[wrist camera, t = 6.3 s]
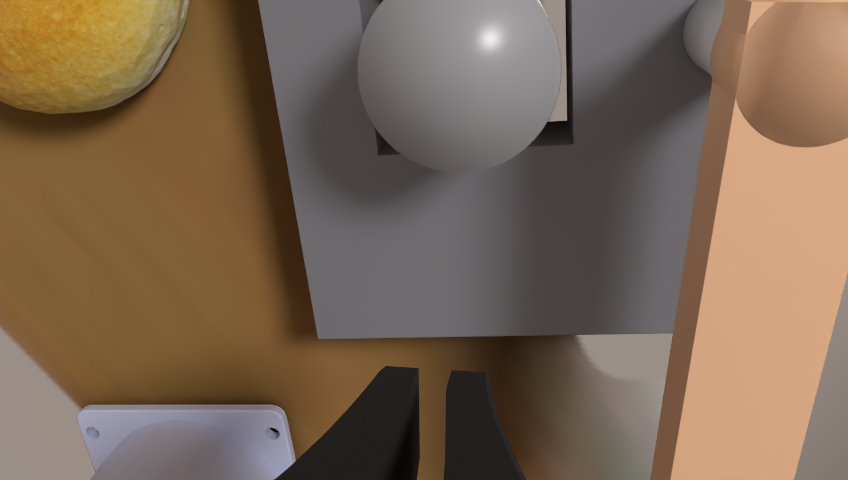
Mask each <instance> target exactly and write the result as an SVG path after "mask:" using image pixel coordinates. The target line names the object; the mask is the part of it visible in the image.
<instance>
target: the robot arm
mask: <svg viewBox="0 0 848 480" xmlns="http://www.w3.org/2000/svg"><path fill="white" fill-rule="evenodd" d="M77 421H78V424H79V427H80V430H81V432H82V435H83V438H84V441H85V444H86V447H87V449H88V453H89V455H90V458H91V461H92V464H93V467H94V469H95V472H96V473H95V475H94V476H93V477H92V478H91V480H417V473H418V466H419V459H420V445H419V368H407V367H391V366H385V367H384V368H383V369H382V370H381V371H380V372H379V373H378V374H377V375H376V377H375V378H374V379H373V380H372V382H371V383H370V384H369V385H368V386H367V388H366V389H365V390H364V391H363V392H362V394H361V395H360V396H359V397H358V398H357V399H356V401H355V402H354V403H353V404H352V405H351V406H350V407H349V408H348V410H347V411H346V412H345V413H344V414H343V415H342V416H341V417H340V418H339V419H338V420H337V421H336V422H335V423H334V425H333V426H332V427H331V428H330V429H329V430H328V431H327V432H326V433H325V434H324V435H323V436H322V437H321V438H320V439H319V440H318V441H317V442H316V443H315V444H313V445H312V446H311V447H310V448H309V449H308V450H307V451H306V452H305V453H304V454H303V455H302V456H301V457H300V458H299V459H298V460H297V461H296V459H295V454H294V449H293V445H292V440H291V435H290V430H289V425H288V421H287V416H286V414H285V412H284V411H283V410H282V409H281V408H280V407H278V406H276V405H87V406H85V407H84V408H83V409H82V410H81V411H80V412H79V413H78V415H77ZM94 428H96V429H97V430H98V431H96V430H95V429H94ZM270 428H275V429H276V430H278V431H279V432H278V433H277V432H273V431H272V430H271V429H270ZM444 480H526V478H525V477H524V475H523V473H522V471H521V469H520V467H519V465H518V462H517V460H516V458H515V456H514V454H513V452H512V449H511V447H510V444H509V442H508V439H507V437H506V435H505V432H504V430H503V427H502V424H501V421H500V419H499V415H498V412H497V409H496V406H495V402H494V398H493V393H492V386H491V378H490V377H489V376H488V375H487V374H486V373H483V372H468V371H453V370H452V371H451V375H450V378H449V382H448V386H447V391H446V448H445V472H444Z"/></svg>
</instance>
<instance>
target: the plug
mask: <svg viewBox="0 0 848 480" xmlns="http://www.w3.org/2000/svg"><path fill="white" fill-rule="evenodd" d="M357 72H358V84H359V89H360V94H361V98H362V101H363V104H364V107H365V110H366V112H367V114H368V116H369V118H370V120H371V122H372V123H373V125H374V126H375V128H376V129H377V131H378V132H379V133H380V135H381V136H382V137H383V138H384V139H385V140H386V142H387V143H388V144H390V145H391V146H392V147H393V148H394V149H395V150H396V151H398V152H399V153H400V154H402V155H403V156H405V157H406V158H408V159H410V160H412V161H413V162H415V163H417V164H420V165H422V166H425V167H427V168H430V169H435V170H439V171H444V172H452V173H467V172H475V171H481V170H484V169H488V168H492V167H494V166H497V165H499V164H502V163H504V162H506V161H507V160H509V159H511V158H513V157H514V156H516V155H517V154H519V153H520V152H521V151H523V150H524V149H525V148H526V147H527V146H528V145H529V144H530V143H531V142H532V141H533V140H534V139H535V138H536V137H537V136H538V134H539V133H540V132H541V131H542V129H543V128H544V126H545V125H546V123H547V121H548V120H549V118H550V116H551V114H552V111H553V109H554V107H555V104H556V101H557V97H558V94H559V89H560V82H561V56H560V49H559V45H558V41H557V37H556V35H555V32H554V29H553V27H552V24H551V22H550V20H549V18H548V16H547V14H546V12H545V10H544V8H543V6H542V4H541V1H540V0H383V1H382V3H381V4H380V5H379V6H378V7H377V9H376V11H375V12H374V14H373V15H372V17H371V18H370V20H369V23H368V25H367V27H366V29H365V31H364V34H363V38H362V41H361V44H360V49H359V55H358V69H357Z"/></svg>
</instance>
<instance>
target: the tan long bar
mask: <svg viewBox="0 0 848 480" xmlns="http://www.w3.org/2000/svg"><path fill="white" fill-rule="evenodd" d="M710 70H711V77H712V87H711V93H710V100H709V106H708V113H707V119H706V125H705V132H704V138H703V145H702V151H701V158H700V164H699V170H698V177H697V183H696V190H695V196H694V203H693V209H692V215H691V222H690V228H689V235H688V241H687V247H686V254H685V260H684V267H683V273H682V280H681V286H680V292H679V299H678V305H677V312H676V318H675V325H674V331H673V337H672V344H671V350H670V357H669V363H668V370H667V376H666V382H665V389H664V395H663V402H662V408H661V415H660V421H659V427H658V434H657V440H656V447H655V453H654V460H653V466H652V472H651V479H650V480H794V477H795V473H796V469H797V465H798V461H799V457H800V453H801V449H802V446H803V442H804V438H805V434H806V431H807V427H808V423H809V419H810V415H811V411H812V408H813V404H814V400H815V396H816V392H817V388H818V384H819V381H820V377H821V373H822V369H823V365H824V361H825V357H826V354H827V350H828V346H829V342H830V338H831V334H832V330H833V327H834V323H835V319H836V315H837V311H838V308H839V304H840V300H841V296H842V292H843V288H844V285H845V280H846V277H847V273H848V0H725V3H724V10H723V16H722V23H721V26H720V28H719V30H718V32H717V34H716V37H715V40H714V42H713V46H712V51H711V59H710Z"/></svg>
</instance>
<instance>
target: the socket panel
mask: <svg viewBox="0 0 848 480" xmlns="http://www.w3.org/2000/svg"><path fill="white" fill-rule="evenodd" d="M565 1H566V63H567V65H566V66H567V121H555V122H547V123H546V125H545V126H544V128H543V129H542V131H541V132H540V133H539V134H538V136H537V137H536V138H535V139H534V140H533V141H532V142H531V143H530V144H529V145H528V146H527V147H526V148H525V149H524V150H523V151H521V152H520V153H519V154H517V155H516V156H514V157H513V158H511V159H509V160H507V161H506V162H504V163H502V164H499V165H497V166H494V167H492V168H488V169H484V170H481V171H475V172H467V173H452V172H444V171H439V170H435V169H430V168H427V167H425V166H422V165H420V164H417V163H415V162H413V161H412V160H410V159H408V158H406V157H405V156H403V155H402V154H400V153H399V152H398V151H396V150H395V149H394V148H393V147H392V146H391V145H390V144H388V143H387V142H386V140H385V139H384V138H383V137H382V136H381V135H380V133H379V132H378V131H377V129H376V128H375V126H374V125H373V123H372V122H371V120H370V118H369V116H368V114H367V112H366V110H365V107H364V104H363V101H362V98H361V94H360V89H359V84H358V72H357V69H358V55H359V49H360V44H361V41H362V38H363V34H364V31H365V29H366V27H367V25H368V23H369V20H370V18H371V17H372V15H373V14H374V12H375V11H376V9H377V7H378V6H379V5H380V4H379V0H258V2H259V8H260V14H261V19H262V25H263V31H264V36H265V42H266V48H267V53H268V59H269V65H270V70H271V76H272V81H273V87H274V93H275V98H276V104H277V110H278V115H279V121H280V127H281V132H282V138H283V144H284V149H285V155H286V161H287V166H288V172H289V177H290V183H291V189H292V194H293V200H294V206H295V211H296V217H297V223H298V228H299V234H300V240H301V245H302V251H303V256H304V262H305V268H306V273H307V279H308V285H309V290H310V296H311V302H312V307H313V313H314V319H315V324H316V330H317V335H318V339H355V338H415V337H475V336H535V335H590V334H593V335H594V334H655V333H673V331H674V325H675V318H676V312H677V305H678V299H679V292H680V286H681V280H682V273H683V267H684V260H685V254H686V247H687V241H688V235H689V228H690V222H691V215H692V209H693V203H694V196H695V190H696V183H697V177H698V170H699V164H700V158H701V151H702V145H703V138H704V132H705V125H706V119H707V113H708V106H709V100H710V93H711V87H712V77H711V70H710V59H711V51H712V46H713V42H714V40H715V37H716V34H717V32H718V30H719V28H720V26H721V23H722V16H723V10H724V3H725V0H565Z"/></svg>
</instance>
